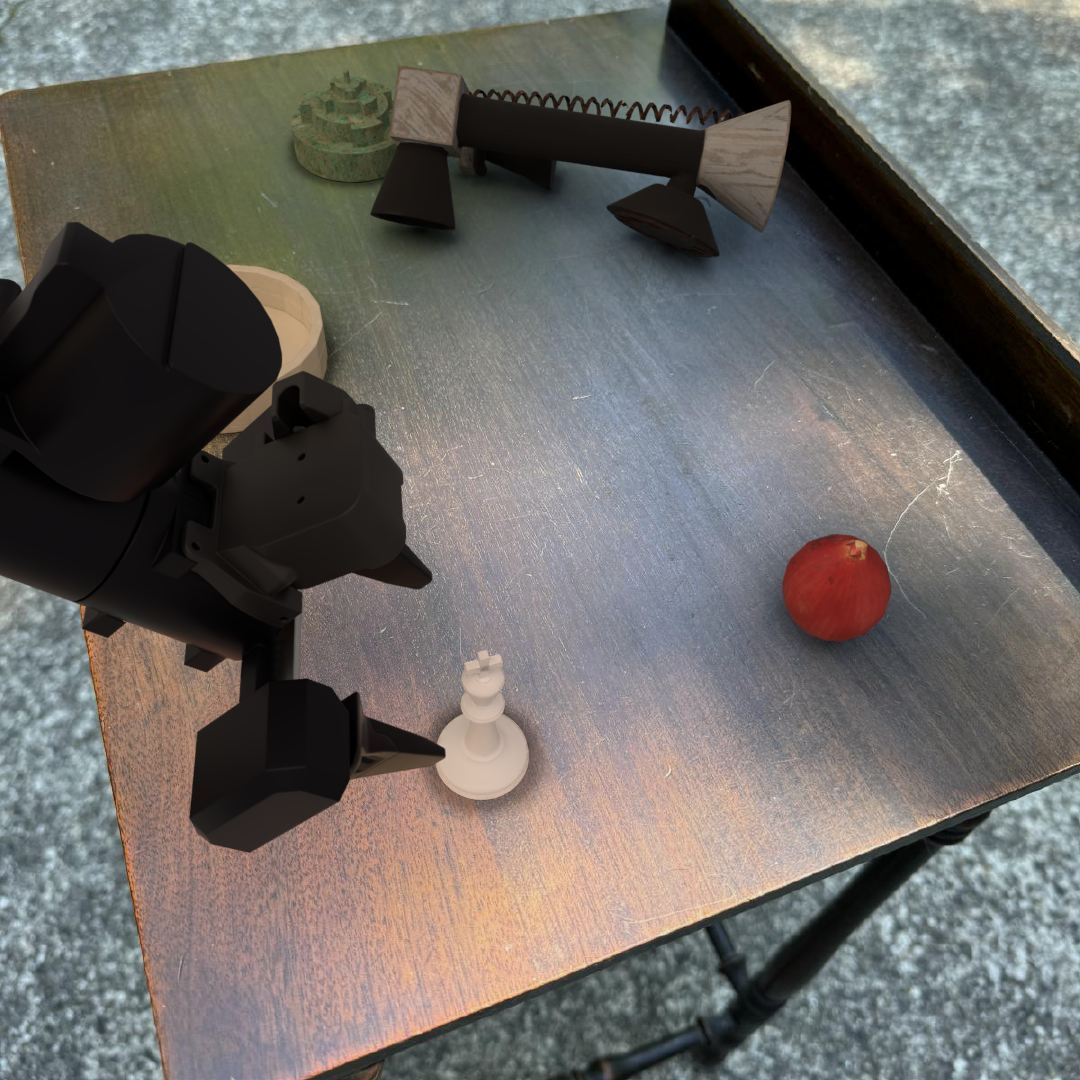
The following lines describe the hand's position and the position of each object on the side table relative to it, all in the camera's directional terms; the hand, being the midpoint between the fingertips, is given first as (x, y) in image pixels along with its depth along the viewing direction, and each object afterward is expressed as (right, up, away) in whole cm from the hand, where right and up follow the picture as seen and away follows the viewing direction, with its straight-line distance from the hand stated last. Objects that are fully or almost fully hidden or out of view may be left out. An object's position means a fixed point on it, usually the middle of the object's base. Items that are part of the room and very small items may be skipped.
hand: (432, 664), depth 46 cm
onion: (+21, 0, +14) cm, 26 cm away
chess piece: (+2, -6, +8) cm, 10 cm away
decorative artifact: (-11, +39, +43) cm, 60 cm away
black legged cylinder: (+7, +31, +38) cm, 50 cm away
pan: (-17, +18, +25) cm, 35 cm away
